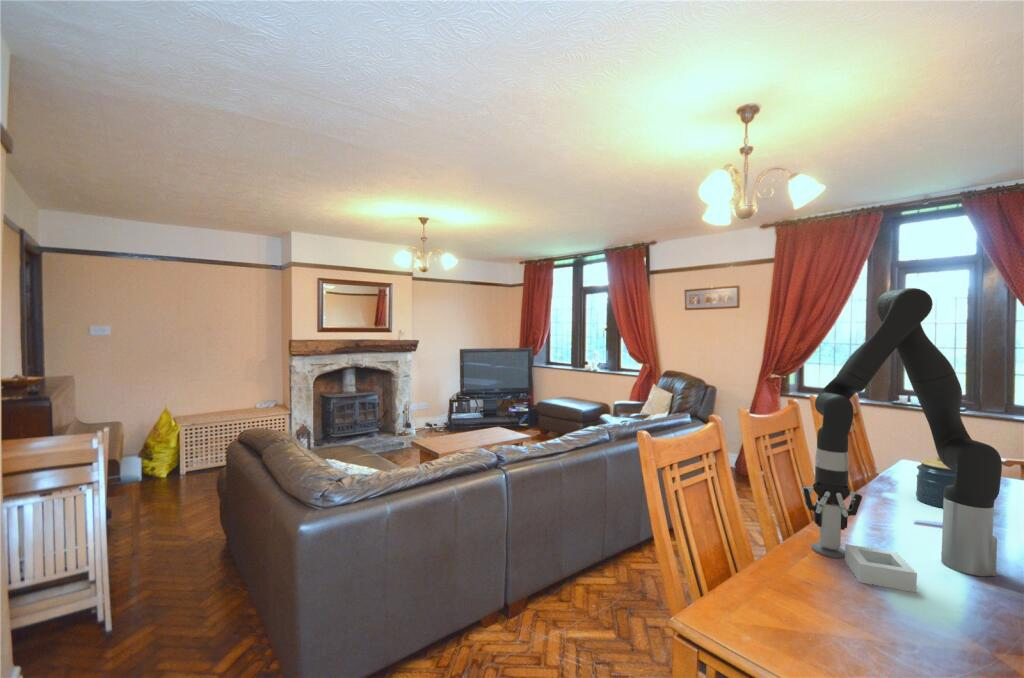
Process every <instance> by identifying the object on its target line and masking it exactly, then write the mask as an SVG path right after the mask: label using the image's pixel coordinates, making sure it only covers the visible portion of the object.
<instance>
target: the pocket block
mask: <svg viewBox="0 0 1024 678" xmlns="http://www.w3.org/2000/svg"><path fill="white" fill-rule="evenodd" d="M844 546H845V549H844V550H845V558H844V562H845V564H846V565H847V567H848V568H849V569H850V571H851V572H852V574H853V573H854V574H853V576H856V577H855V578H856V579H857V581H858V583H860V582H861V583H862V584H866V583H867V585H872V584H874V585H873V586H877V585H878V587H883V586H884V588H889V587H890V589H894V588H895V589H894V590H901V591H906V592H911V593H917V585H918V584H917V582H918V581H917V579H918V573H917V572H916V571H915V570H914V569H913V567H912V566H911V565H909V563H907V561H906V560H905V559H904V558H903V557H902V556H901V555H900V554H899V553H898V552H897V551H893V550H892V551H891V550H885V549H879V548H872V547H865V546H858V545H852V544H846V543H845V545H844Z"/></svg>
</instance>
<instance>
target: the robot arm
mask: <svg viewBox="0 0 1024 678" xmlns="http://www.w3.org/2000/svg"><path fill="white" fill-rule="evenodd" d="M933 305H934V304H933V299H932V296H931V295H930V294H929V293H928V292H927V291H925V290H923V289H921V288H915V287H910V288H909V287H907V288H899V289H892V290H888V291H885V292H884V293H882V294H881V295H880V296H879V297H878V299H877V301H876V312H877V315H878V317H879V319H880V321H881V322H882V323H881V324H880V325H879V327H878V328H877V330H876V331H874V333H873V334H872V335H871V336H870V337H869V338H868V339H867V340H866V341H864V342H863V343H862V344H861V345H860V346H859V347H858V348H856V349H855V350H854V352H853V353H851V355H850V356H849V357H848V358H847V360H846V361H845V362H844V364H843V366H842V367H841V369H840V370H839V371H838V373H837V375H836V376H835V377H834V378H833V379H832V380H831V381H829V382H828V384H827V385H825V387H823V389H822V390H821V391H820V392H819V393H818V395H817V396H816V398H815V400H814V409H815V410H816V412H817V413H818V414H820V416H822V417H823V418H822V427H819V429H818V430H817V434H816V435H817V436H816V450H815V459H814V460H815V463H814V464H815V467H814V468H815V469H814V484H812V486H805V485H802V486H801V491H802V495H803V497H804V498H803V499H804V502H805V506H806V507H807V509H808V510H809V511H813V522H814V523H815V525H816V526H817V527H819V528H820V527H821V516H822V514H821V513H820V512H821V510H822V508H823V507H824V506H825V503H834V504H838V505H839V506H840V508H841V531H845V529H847V528H848V517H850V516H851V517H852V516H853V517H855V516H856V515H857V512H858V511H859V508H860V505H861V502H862V499H863V496H862V495H861V494H860V493H859V492H858V491H852V490H850V489H849V476H850V475H849V473H850V472H849V471H850V470H849V469H850V457H849V435H850V432H851V429H852V424H853V420H854V414H855V413H854V406H853V403H852V402H851V398H852V397H853V396H854V395H856V394H857V393H861V392H862V391H864V390H865V389H866V388H867V387H868V386H869V384H870V382H871V381H872V379H873V378H874V377H875V375H876V374H877V373H878V371H879V369H880V368H881V367H882V366H883V364H884V363H885V362H886V360H888V358H889V357H890V356H891V354H892V353H893V352H894V351H895V350H896V351H897V353H898V356H899V358H900V360H901V362H902V365H903V367H904V370H905V373H906V374H907V378H908V380H909V382H910V385H911V387H912V389H913V391H914V393H915V394H914V395H915V396H916V398H917V400H918V402H919V405H920V406H921V409H922V411H923V414H924V416H925V418H926V420H927V423H928V426H929V430H930V431H931V432H930V433H931V435H932V439H933V443H934V446H935V450H936V453H937V455H938V456H939V458H940V460H941V461H942V463H943V464H944V465H946V466H947V467H948V468H950V469H952V470H954V471H956V472H957V473H956V481H955V484H954V485H948V486H946V487H945V488H944V502H943V508H942V510H943V511H942V528H941V529H942V531H941V532H942V533H941V534H942V535H941V552H940V553H941V554H940V555H941V556H940V557H941V563H942V564H943V565H945V566H946V567H948V568H950V569H953V570H955V571H958V572H960V573H964V574H968V575H972V576H978V577H991V576H992V577H997V559H998V558H997V557H998V555H997V554H998V538H997V537H996V536H994V535H993V533H994V512H995V501H996V500H997V498H998V497H999V494H1000V489H1001V480H1002V470H1003V463H1002V462H1003V461H1002V457H1001V455H1000V453H999V451H998V450H997V449H995V448H994V447H993V446H991V445H990V444H987V443H985V442H981V441H977V440H974V439H972V438H971V436H970V434H969V433H968V431H967V428H966V427H965V425H964V422H963V419H962V417H961V416H962V415H961V405H962V400H963V390H962V386H961V382H960V380H959V377H958V376H957V374H956V371H955V368H954V367H953V365H952V363H950V360H948V358H947V357H946V356H945V354H944V353H943V352H941V350H940V349H939V348H938V347H937V346H936V345H935V344H934V343H933V342H932V340H930V338H929V337H928V336H927V334H926V333H925V331H924V328H923V326H922V324H921V323H922V322H923V321H925V319H926V318H927V317H928V316H929V314H930V313H931V312H932V309H933ZM813 492H814V493H815V495H817V497H816V500H815V503H814V504H813V502H812V499H811V496H812V495H813ZM848 497H849V499H851V500H850V503H849V505H848V508H847V507H846V503H845V500H846V499H847V498H848Z"/></svg>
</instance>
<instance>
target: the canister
mask: <svg viewBox="0 0 1024 678" xmlns="http://www.w3.org/2000/svg"><path fill="white" fill-rule="evenodd" d="M919 463H921V464H919V465H917V466H916V468H917V470H918V474H916V475H915V476H916V491H915V497H916V500H917V501H919V502H921V503H922V504H926V505H929V506H930V507H931V506H932V507H936V508H941V509H943V502H944V488H945V487H946V486H948V485H954V484H955V481H956V473H957V472H956V471H954V470H952V469H950V468H948V467H947V466H946V465H944V464H943V463H942V461H941V460H940V458H939V456H938V454H937V455H936V457H925V458H924V459H920V460H919Z"/></svg>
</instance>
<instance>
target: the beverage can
mask: <svg viewBox="0 0 1024 678" xmlns="http://www.w3.org/2000/svg"><path fill="white" fill-rule="evenodd" d="M820 513H821V514H822V516H821V527H819V531H818V532H819V537H818V539H819V541H818V543H820V544H821V546H823V547H825V548H827V549H831V550H837V549H839V548H841V540H842V539H841V538H842V530H841V508H840V506H839V505H838V504H834V503H825V506H824V507H823V508H822V510H821V512H820Z"/></svg>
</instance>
